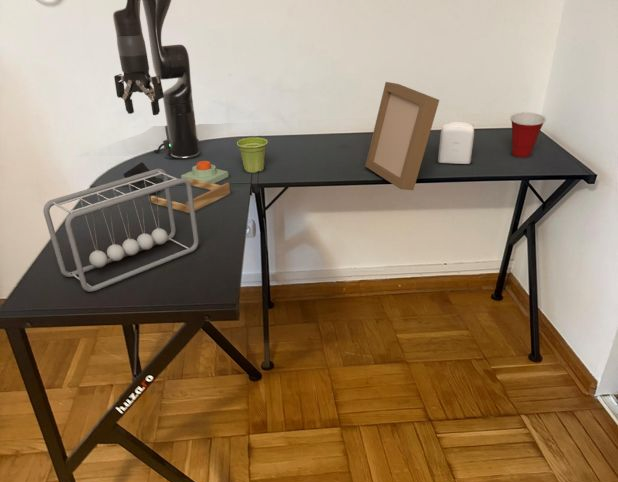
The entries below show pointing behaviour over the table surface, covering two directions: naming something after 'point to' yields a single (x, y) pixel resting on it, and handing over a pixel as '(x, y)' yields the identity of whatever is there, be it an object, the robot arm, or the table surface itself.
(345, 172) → the table surface
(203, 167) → the power button
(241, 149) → the plant pot
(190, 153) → the robot arm
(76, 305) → the table surface
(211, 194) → the wooden frame
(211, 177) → the switch box
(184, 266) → the table surface
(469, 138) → the photo printer
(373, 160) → the photo frame
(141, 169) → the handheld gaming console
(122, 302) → the table surface
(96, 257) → the newton's cradle
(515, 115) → the plastic cup
